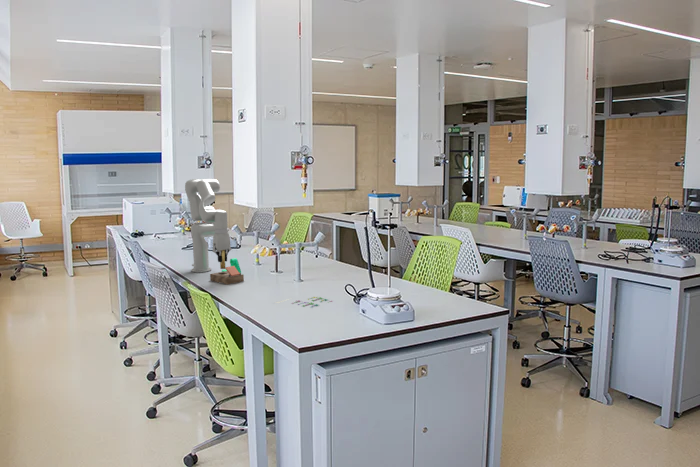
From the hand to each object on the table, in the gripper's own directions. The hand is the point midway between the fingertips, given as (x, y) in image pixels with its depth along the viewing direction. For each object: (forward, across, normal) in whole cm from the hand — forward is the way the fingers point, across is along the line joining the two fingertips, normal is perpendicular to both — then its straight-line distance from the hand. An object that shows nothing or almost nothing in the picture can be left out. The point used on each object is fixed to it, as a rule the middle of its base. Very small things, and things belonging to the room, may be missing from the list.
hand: (222, 261), depth 344 cm
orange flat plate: (+5, 0, +9) cm, 11 cm away
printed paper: (+13, +2, +81) cm, 82 cm away
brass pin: (+4, 0, 0) cm, 4 cm away
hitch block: (+12, 0, +4) cm, 12 cm away
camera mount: (+12, -13, -10) cm, 20 cm away
